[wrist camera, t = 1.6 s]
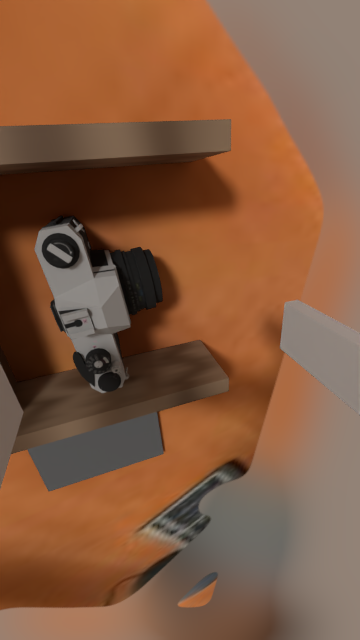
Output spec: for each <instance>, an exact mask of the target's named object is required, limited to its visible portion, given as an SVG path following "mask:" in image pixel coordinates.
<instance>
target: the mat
mask: <svg viewBox="0 0 360 640" xmlns="http://www.w3.org/2000/svg"><path fill="white" fill-rule="evenodd" d="M27 450H28V452H29V454H30V456H31V458H32V460H33V461H34V463H35V465H36V467H37V469H38V471H39V473H40V475H41V477H42V479H43V481H44V483H45V485H46V487H47V489H48V491H52V490H55V489H58V488H61V487H64V486H67V485H70V484H73V483H76V482H79V481H82V480H86V479H89V478H92V477H95V476H98V475H101V474H104V473H107V472H110V471H113V470H116V469H119V468H122V467H125V466H128V465H131V464H134V463H137V462H140V461H143V460H146V459H149V458H152V457H155V456H159V455H162V454H164V453H163V447H162V440H161V434H160V428H159V422H158V415H157V412H154V413H151V414H148V415H144V416H141V417H137V418H134V419H130V420H127V421H123V422H120V423H116V424H113V425H110V426H106V427H103V428H99V429H96V430H92V431H89V432H85V433H82V434H78V435H75V436H72V437H68V438H65V439H61V440H58V441H54V442H51V443H47V444H44V445H40V446H37V447H33V448H30V449H27Z"/></svg>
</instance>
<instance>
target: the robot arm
mask: <svg viewBox="0 0 360 640" xmlns="http://www.w3.org/2000/svg"><path fill="white" fill-rule="evenodd" d="M280 349H282V350H283V351H284V352H285V353H286V354H287V355H289V356H290V357H291V358H292V359H293V360H295V361H296V362H297V363H298V364H299V365H301V366H302V367H303V368H304V369H306V371H308V372H309V373H310V374H311V375H313V376H314V377H315V378H316V379H317V380H318V381H320V382H321V383H322V384H323V385H324V386H326V387H327V388H328V389H329V390H330V391H332V392H333V393H334V394H335V395H336V396H337V397H339V398H340V399H341V400H342V401H343V402H345V403H346V404H347V405H348V406H349V407H350V408H352V409H353V410H354V411H355V412H356V413H358V414H359V415H360V333H359V332H357V331H355V330H353V329H351V328H349V327H348V326H346V325H344V324H342V323H340V322H338V321H336V320H334V319H333V318H331V317H329V316H327V315H325V314H323V313H321V312H320V311H318V310H316V309H314V308H312V307H310V306H308V305H306V304H304V303H303V302H301V301H299V300H295V301H290V302H285V306H284V315H283V324H282V333H281V342H280ZM23 413H24V412H23V410H22V408H21V406H20V404H19V402H18V400H17V398H16V395H15V393H14V391H13V389H12V387H11V385H10V383H9V381H8V379H7V376H6V374H5V372H4V370H3V368H2V366H1V364H0V488H1V484H2V481H3V478H4V475H5V471H6V468H7V465H8V462H9V458H10V455H11V452H12V449H13V445H14V442H15V439H16V435H17V432H18V429H19V426H20V422H21V419H22V416H23Z"/></svg>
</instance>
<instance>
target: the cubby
mask: <svg viewBox="0 0 360 640" xmlns="http://www.w3.org/2000/svg"><path fill="white" fill-rule="evenodd" d="M228 151H231V119H227V120H194V121H161V122H129V123H96V124H64V125H31V126H0V175H4V174H19V173H33V172H48V171H63V170H77V169H92V168H106V167H121V166H136V165H150V164H165V163H179V162H192V161H196V160H199V159H203V158H206V157H210V156H214V155H217V154H221V153H224V152H228ZM122 360H123V364H124V370H125V369H126V367H128V370H127V373H128V374H129V378H128V379H127V380H126V379H125V381H124V383H123V386H122V387H121V388H117V389H116V390H114V391H111V392H105V393H101V392H99V391H97V390H95V389H93V388H91V386H90V383H89V382H87V381H86V380H85V379H84V378H83V377H82V376H81V374H80V373H79V371H78V369H73V370H69V371H64V372H60V373H56V374H52V375H47V376H43V377H39V378H34V379H30V380H26V381H22V382H17V381H16V379H15V377H14V375H13V373H12V370H11V368H10V366H9V364H8V362H7V359H6V357H5V355H4V353H3V351H2V348H1V346H0V364H1V366H2V368H3V370H4V372H5V374H6V376H7V379H8V381H9V383H10V385H11V387H12V389H13V391H14V393H15V395H16V398H17V400H18V402H19V404H20V406H21V408H22V410H23V412H24V413H23V416H22V419H21V422H20V426H19V429H18V432H17V435H16V439H15V442H14V445H13V449H12V452H11V454H13V453H16V452H20V451H23V450H27V449H30V448H33V447H37V446H40V445H44V444H47V443H51V442H54V441H58V440H61V439H65V438H68V437H72V436H75V435H78V434H82V433H85V432H89V431H92V430H96V429H99V428H103V427H106V426H110V425H113V424H116V423H120V422H123V421H127V420H130V419H134V418H137V417H141V416H144V415H148V414H151V413H154V412H158V411H161V410H165V409H168V408H172V407H175V406H179V405H182V404H186V403H189V402H192V401H196V400H199V399H203V398H206V397H210V396H213V395H217V394H220V393H224V392H227V391H229V377H228V376H227V375H226V374H225V372H224V371H223V370H222V368H221V367H220V366H219V364H218V363H217V362H216V360H215V359H214V358H213V356H212V355H211V354H210V352H209V351H208V350H207V348H206V347H205V346H204V344H203V343H202V342H201V340H197V341H193V342H188V343H184V344H180V345H175V346H171V347H167V348H163V349H158V350H154V351H150V352H146V353H141V354H137V355H133V356H128V357H124V358H122ZM125 373H126V371H125Z"/></svg>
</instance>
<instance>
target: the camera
mask: <svg viewBox="0 0 360 640" xmlns="http://www.w3.org/2000/svg"><path fill="white" fill-rule="evenodd" d="M35 252H36V254H37V257H38V259H39V262H40V264H41V267H42V269H43V271H44V274H45V276H46V279H47V281H48V284H49V286H50V288H51V291H52V293H53V296H54V300H53V301H52V302H51V305H50V308H51V310H52V312H53V315H54V317H55V320H56V322H57V324H58V327H59V329H60V331H64V332H65V333H67V336H69V337H70V339H71V340H72V342H73V344H74V347H75V349H76V352H74V354H73V360H74V363H75V365H76V368H77V369H78V371H79V373H80V374H81V376H82V377H83V378H84V379H85V380H86V381H87V382H89V383H90V386H91V388H93V389H95V390H97V391H99V392H101V393H105V392H111V391H114V390H116V389H117V388H121V387H122V386H123V383H124V381H125V379H126V380H127V379H128V378H129V374H128V373H127V370H128V367H126V369H125V370H124V364H123V360H122V355H121V349H120V344H119V338H118V335H117V332H119V331H121V330H124V329H127V328H130V327H131V326H130V324H131V321H130V317H129V315H130V314H132V315H135V314H137V311H140V310H141V309H144V308H146V309H151V308H154V307H156V303H158V302H161V301H162V300H163V296H162V288H161V282H160V278H159V274H158V270H157V267H156V264H155V261H154V258H153V255H152V253H151V251H150V250H149V249H148V250H142V249H141V247H137V248H133V249H131V251H127V252H124V251H122V252H121V251H120V250H115V252H112V253H109V250H104V249H103V250H91V245H90V243H89V241H88V238H87V235H86V232H85V228H84V226H83V225H82V224H81V223H80V222H79V221H78V220H77V219H76V218H75V217H74V216H69V217H64V218H63V215H62V216H59V217H58V218H57V219H53V220H51V222H50V223H49V224H47V225H46V226H45V227H42V229H41V230H40V231H39V234H38V238H37V242H36V246H35ZM125 371H126V373H125Z"/></svg>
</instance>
